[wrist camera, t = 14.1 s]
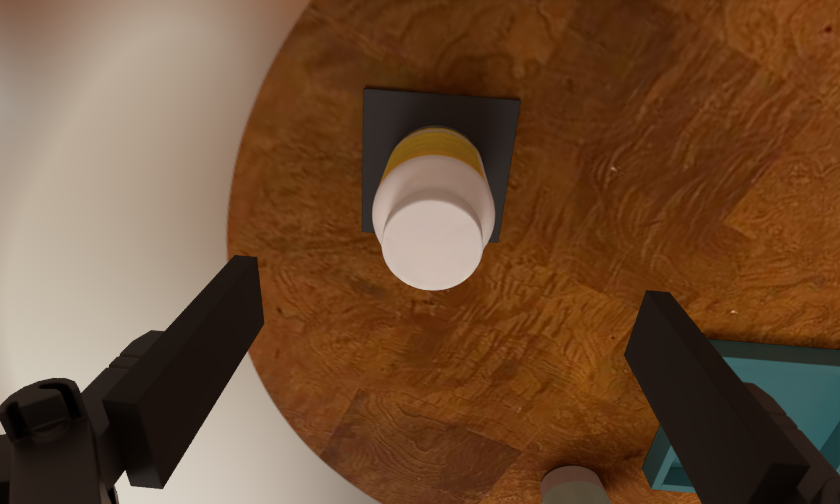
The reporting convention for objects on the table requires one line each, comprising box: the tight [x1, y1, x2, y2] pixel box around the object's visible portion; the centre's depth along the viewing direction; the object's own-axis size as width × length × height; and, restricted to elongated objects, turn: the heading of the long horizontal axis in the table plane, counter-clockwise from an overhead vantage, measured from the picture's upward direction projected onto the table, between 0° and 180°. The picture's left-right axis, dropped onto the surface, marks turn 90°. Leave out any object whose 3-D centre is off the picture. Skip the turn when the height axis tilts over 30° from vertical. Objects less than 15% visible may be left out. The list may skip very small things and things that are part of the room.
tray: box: [642, 339, 840, 493], centre depth 39 cm, size 16×16×2 cm
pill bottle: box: [372, 126, 495, 290], centre depth 26 cm, size 6×6×12 cm
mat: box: [362, 88, 521, 243], centre depth 31 cm, size 10×10×1 cm
